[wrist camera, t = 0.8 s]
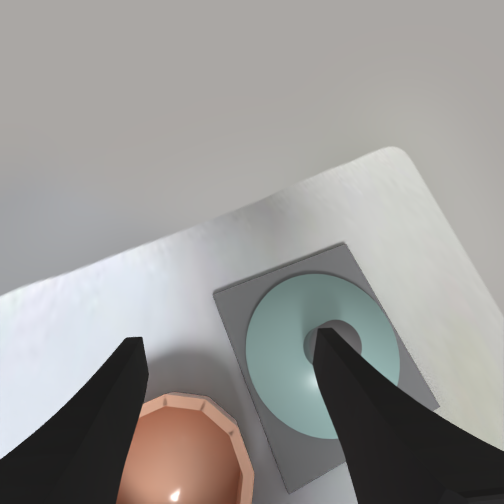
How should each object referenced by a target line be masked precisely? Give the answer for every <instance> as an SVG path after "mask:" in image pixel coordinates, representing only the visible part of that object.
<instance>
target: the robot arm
mask: <svg viewBox="0 0 504 504" xmlns="http://www.w3.org/2000/svg"><path fill="white" fill-rule="evenodd" d="M312 365H313V369H314V373H315V377H316V380H317V384H318V388H319V390H320V393H321V395H322V398H323V401H324V403H325V406H326V408H327V411H328V413H329V416H330V418H331V421H332V423H333V426H334V429H335V431H336V434H337V436H338V439H339V441H340V444H341V447H342V450H343V452H344V456H345V459H346V462H347V466H348V469H349V472H350V476H351V479H352V483H353V486H354V490H355V494H356V497H357V501H358V504H504V451H502V450H500V449H498V448H496V447H494V446H492V445H490V444H488V443H486V442H484V441H482V440H480V439H478V438H477V437H475V436H473V435H471V434H469V433H468V432H466V431H464V430H462V429H460V428H459V427H457V426H455V425H454V424H452V423H450V422H449V421H447V420H445V419H444V418H442V417H441V416H439V415H438V414H436V413H434V412H433V411H431V410H430V409H428V408H427V407H425V406H424V405H422V404H421V403H419V402H418V401H416V400H415V399H414V398H412V397H411V396H409V395H408V394H407V393H405V392H404V391H403V390H401V389H400V388H398V387H397V386H396V385H395V384H393V383H392V382H391V381H390V380H388V379H387V378H386V377H385V376H384V375H382V374H381V373H380V372H379V371H378V370H376V369H375V368H374V367H373V366H372V365H371V364H370V363H368V362H367V361H366V360H365V359H364V358H363V357H362V356H361V355H360V354H359V353H358V352H357V351H355V350H354V349H353V348H352V347H351V346H350V345H349V344H348V343H347V342H346V341H345V340H344V339H343V338H342V337H341V336H340V335H339V334H338V333H337V332H336V331H335V330H334V329H333V328H318V330H317V337H316V344H315V350H314V357H313V363H312ZM148 375H149V373H148V367H147V361H146V356H145V350H144V344H143V338H142V337H128V338H125V339H124V340H123V342H122V343H121V344H120V345H119V346H118V348H117V349H116V350H115V351H114V352H113V353H112V355H111V356H110V357H109V358H108V359H107V361H106V362H105V363H104V364H103V365H102V366H101V367H100V368H99V370H98V371H97V372H96V373H95V374H94V375H93V376H92V377H91V378H90V380H89V381H88V382H87V383H86V384H85V385H84V386H83V387H82V388H81V389H80V390H79V391H78V392H77V393H76V394H75V395H74V396H73V397H72V398H71V399H70V400H69V401H68V402H67V403H66V404H65V405H64V406H63V407H62V408H61V409H60V410H59V411H58V412H57V413H56V414H55V415H54V416H52V417H51V418H50V419H49V420H48V421H47V422H46V423H45V424H44V425H42V426H41V427H40V428H39V429H38V430H37V431H35V432H34V433H33V434H32V435H31V436H29V437H28V438H27V439H26V440H24V441H23V442H22V443H21V444H19V445H18V446H17V447H16V448H14V449H13V450H12V451H11V452H9V453H8V454H7V455H6V456H4V457H3V458H2V459H0V504H116V501H117V497H118V492H119V487H120V482H121V478H122V473H123V469H124V466H125V462H126V458H127V455H128V452H129V449H130V445H131V442H132V439H133V435H134V432H135V429H136V425H137V422H138V419H139V416H140V412H141V409H142V405H143V402H144V398H145V393H146V387H147V381H148Z"/></svg>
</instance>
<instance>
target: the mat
mask: <svg viewBox="0 0 504 504" xmlns="http://www.w3.org/2000/svg"><path fill="white" fill-rule="evenodd" d="M306 274H325V275H330V276H335V277H338V278H341V279H344V280H346V281H348V282H350V283H352V284H354V285H355V286H357V287H358V288H360V289H361V290H363V291H364V292H365V293H366V294H368V295H369V296H370V297H371V298H372V299H373V300H374V301H375V302H376V303H377V305H378V306H379V307H380V308H381V309H382V311H383V313H384V314H385V316H386V317H387V319H388V321H389V323H390V325H391V327H392V329H393V332H394V334H395V337H396V341H397V345H398V349H399V357H400V372H399V380H398V384H397V387H398V388H400V389H401V390H403V391H404V392H405V393H407V394H408V395H409V396H411V397H412V398H414V399H415V400H416V401H418V402H419V403H421V404H422V405H424V406H425V407H427V408H428V409H430V410H431V411H434V410H435V409H437V408H439V407H440V406H439V404H438V402H437V401H436V399H435V397H434V395H433V394H432V392H431V390H430V389H429V387H428V385H427V383H426V382H425V380H424V378H423V376H422V375H421V373H420V371H419V370H418V368H417V366H416V364H415V363H414V361H413V359H412V357H411V356H410V354H409V352H408V351H407V349H406V347H405V345H404V344H403V342H402V340H401V338H400V337H399V335H398V333H397V331H396V330H395V328H394V326H393V325H392V323H391V321H390V319H389V318H388V316H387V314H386V312H385V311H384V309H383V307H382V306H381V304H380V302H379V300H378V299H377V297H376V295H375V293H374V292H373V290H372V288H371V287H370V285H369V283H368V281H367V280H366V278H365V276H364V274H363V273H362V271H361V269H360V268H359V266H358V264H357V262H356V261H355V259H354V257H353V255H352V254H351V252H350V250H349V249H348V247H347V245H346V244H344V245H341V246H338V247H336V248H333V249H331V250H328V251H325V252H323V253H320V254H317V255H315V256H312V257H310V258H307V259H304V260H302V261H299V262H297V263H294V264H291V265H289V266H286V267H283V268H281V269H278V270H276V271H273V272H270V273H268V274H265V275H263V276H260V277H257V278H255V279H252V280H249V281H247V282H244V283H242V284H239V285H236V286H234V287H231V288H229V289H226V290H223V291H221V292H218V293H216V294H213V297H214V300H215V303H216V305H217V308H218V310H219V313H220V316H221V318H222V321H223V324H224V326H225V329H226V331H227V334H228V337H229V339H230V342H231V345H232V347H233V350H234V352H235V355H236V358H237V360H238V363H239V365H240V368H241V371H242V373H243V376H244V379H245V381H246V384H247V386H248V389H249V392H250V394H251V397H252V400H253V402H254V405H255V407H256V410H257V413H258V415H259V418H260V421H261V423H262V426H263V428H264V431H265V434H266V436H267V439H268V442H269V444H270V447H271V449H272V452H273V455H274V457H275V460H276V462H277V465H278V468H279V470H280V473H281V476H282V478H283V481H284V483H285V486H286V489H287V491H288V493H289V494H290V493H292V492H294V491H296V490H297V489H299V488H301V487H303V486H304V485H306V484H308V483H309V482H311V481H313V480H315V479H316V478H318V477H320V476H321V475H323V474H325V473H327V472H328V471H330V470H332V469H334V468H335V467H337V466H339V465H340V464H342V463H344V462H346V459H345V456H344V452H343V450H342V447H341V444H340V441H339V439H322V438H317V437H312V436H309V435H306V434H303V433H300V432H298V431H296V430H295V429H293V428H291V427H289V426H288V425H286V424H285V423H284V422H282V421H281V420H279V419H278V418H277V417H276V416H275V415H274V414H273V413H272V412H271V411H270V410H269V409H268V408H267V406H266V405H265V404H264V403H263V401H262V400H261V398H260V396H259V395H258V393H257V392H256V389H255V387H254V385H253V383H252V380H251V377H250V374H249V371H248V366H247V361H246V336H247V331H248V327H249V324H250V321H251V318H252V316H253V314H254V312H255V310H256V308H257V306H258V305H259V303H260V302H261V300H262V299H263V298H264V297H265V296H266V294H267V293H268V292H270V291H271V290H272V289H273V288H274V287H276V286H277V285H279V284H280V283H282V282H284V281H286V280H288V279H290V278H293V277H296V276H300V275H306Z"/></svg>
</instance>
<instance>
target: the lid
mask: <svg viewBox="0 0 504 504" xmlns="http://www.w3.org/2000/svg"><path fill="white" fill-rule="evenodd" d="M318 328H333V329H334V330H335V331H336V332H337V333H338V334H339V335H340V336H341V337H342V338H343V339H344V340H345V341H346V342H347V343H348V344H349V345H350V346H351V347H352V348H353V349H354V350H355V351H357V352H358V353H359V354H360V355H361V356H362V357H363V358H364V359H365V360H366V361H367V362H368V363H370V364H371V365H372V366H373V367H374V368H375V369H376V370H378V371H379V372H380V373H381V374H382V375H384V376H385V377H386V378H387V379H388V380H390V381H391V382H392V383H393V384H395V385H396V386H397V384H398V380H399V372H400V357H399V349H398V345H397V341H396V337H395V334H394V332H393V329H392V327H391V325H390V323H389V321H388V319H387V317H386V316H385V314H384V313H383V311H382V309H381V308H380V307H379V306H378V305H377V303H376V302H375V301H374V300H373V299H372V298H371V297H370V296H369V295H368V294H366V293H365V292H364V291H363V290H361V289H360V288H358V287H357V286H355V285H354V284H352V283H350V282H348V281H346V280H344V279H341V278H338V277H335V276H330V275H325V274H306V275H300V276H296V277H293V278H290V279H288V280H286V281H284V282H282V283H280V284H279V285H277V286H276V287H274V288H273V289H272V290H271V291H270V292H268V293H267V294H266V296H265V297H264V298H263V299H262V300H261V302H260V303H259V305H258V306H257V308H256V310H255V312H254V314H253V316H252V318H251V321H250V324H249V327H248V331H247V336H246V361H247V366H248V371H249V374H250V377H251V380H252V383H253V385H254V387H255V389H256V392H257V393H258V395H259V396H260V398H261V400H262V401H263V403H264V404H265V405H266V406H267V408H268V409H269V410H270V411H271V412H272V413H273V414H274V415H275V416H276V417H277V418H278V419H279V420H281V421H282V422H284V423H285V424H286V425H288V426H289V427H291V428H293V429H295V430H296V431H298V432H300V433H303V434H306V435H309V436H312V437H317V438H322V439H338V436H337V434H336V431H335V429H334V426H333V423H332V421H331V418H330V416H329V413H328V411H327V408H326V406H325V403H324V401H323V398H322V395H321V393H320V390H319V388H318V384H317V380H316V377H315V373H314V369H313V365H312V363H313V357H314V350H315V344H316V337H317V330H318Z"/></svg>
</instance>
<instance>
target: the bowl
mask: <svg viewBox="0 0 504 504" xmlns="http://www.w3.org/2000/svg"><path fill="white" fill-rule="evenodd" d="M253 484H254V471H253V467H252V464H251V461H250V458H249V455H248V452H247V450H246V447H245V444H244V441H243V438H242V436H241V433H240V430H239V427H238V424H237V422H236V420H235V419H234V418H233V417H232V416H231V415H229V414H228V413H227V412H226V411H225V410H224V409H222V408H221V407H220V406H219V405H218V404H217V403H215V402H214V401H213V400H212V399H211V398H210V397H208V396H202V395H195V394H187V393H179V392H170V393H167V394H164V395H162V396H160V397H157V398H155V399H153V400H151V401H148V402H146V403H144V404H143V405H142V409H141V412H140V416H139V419H138V422H137V425H136V429H135V432H134V435H133V439H132V442H131V445H130V449H129V452H128V455H127V458H126V462H125V466H124V469H123V473H122V478H121V482H120V487H119V492H118V497H117V501H116V504H252V494H253Z"/></svg>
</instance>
